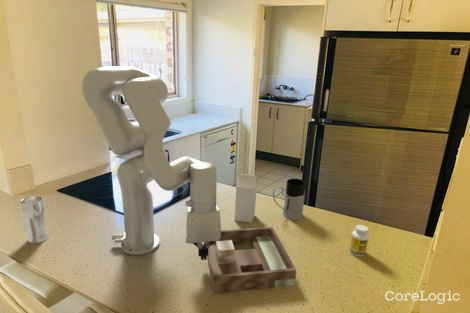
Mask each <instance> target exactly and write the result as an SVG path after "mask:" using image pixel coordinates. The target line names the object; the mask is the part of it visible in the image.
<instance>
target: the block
mask: <svg viewBox="0 0 470 313" xmlns="http://www.w3.org/2000/svg"><path fill="white" fill-rule="evenodd" d="M234 252H235V245H233V243H232V240H227V241H216V258H217V262H218V264H230V263H234Z"/></svg>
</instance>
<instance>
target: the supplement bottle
mask: <svg viewBox="0 0 470 313" xmlns="http://www.w3.org/2000/svg"><path fill="white" fill-rule="evenodd" d="M368 233H369V228H368V227H367V226H366V225H363V224H357V225H356V226H355V228H354V230H353V231H352V233H351V238H350V244H349V248H348V250H349V252H350V253H351V255H353V256H356V257H363V256H365V255H366V253H367V247H368V243H369V239H370V236H369V234H368Z"/></svg>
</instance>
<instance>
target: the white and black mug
mask: <svg viewBox="0 0 470 313" xmlns="http://www.w3.org/2000/svg"><path fill="white" fill-rule="evenodd" d="M306 184H307V183H306V181H305V180H303V179H300V178H289V179H287V180H286V189H285V191H284V188H283V187H282V186H280V185H277V186H275V187H274V188H273V191H272V197H273V200H274V203H275V204H276V205H277V206H278V207H279V208H281V209H282V210H283V211H282V214H281V215H282V217H284V218H285V219H287V220H291V221H300V220H302V219H303V218H304V214H303V212H304V204H305V203H304V202H305V194H306ZM278 188H281V191H282V192H281V194H282V196H284V203H283V207H282V206H281V205H280V204H278V202H277V201H276V199H275V191H276V190H277V189H278ZM284 192H285V193H284Z"/></svg>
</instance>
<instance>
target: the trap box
mask: <svg viewBox="0 0 470 313" xmlns="http://www.w3.org/2000/svg"><path fill="white" fill-rule="evenodd" d="M227 240H232V243H233V246H235V245H244V244H245V245H246V244H250V246H251V249H249V248H247V249H238V250H235V252H234V263H230V264H218V262H217V258H216V242H214V243H213V244H212V245H210V247H209V248H208V256H206V260H207V264H208V269H209V274H210V281H211V287H212V293H213V295H217V294H227V293H234V292H246V291H255V290H266V289H274V288H287V287H294V286H295V284H296V277H297V275H296V274H297V269H296V267H295V265H294V263H293V262H292V259H291V258H290V256H289V255H288V253H287V251H286V249H285V248H284V245H283V244H282V242H281V240H280V239H279V236H278V235H277V233H276V231H275V230H274V228H273V226H267V227H266V226H265V227H264V226H263V227H253V228H251V227H250V228H236V229H235V228H233V229H221V240H220V241H227Z"/></svg>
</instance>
